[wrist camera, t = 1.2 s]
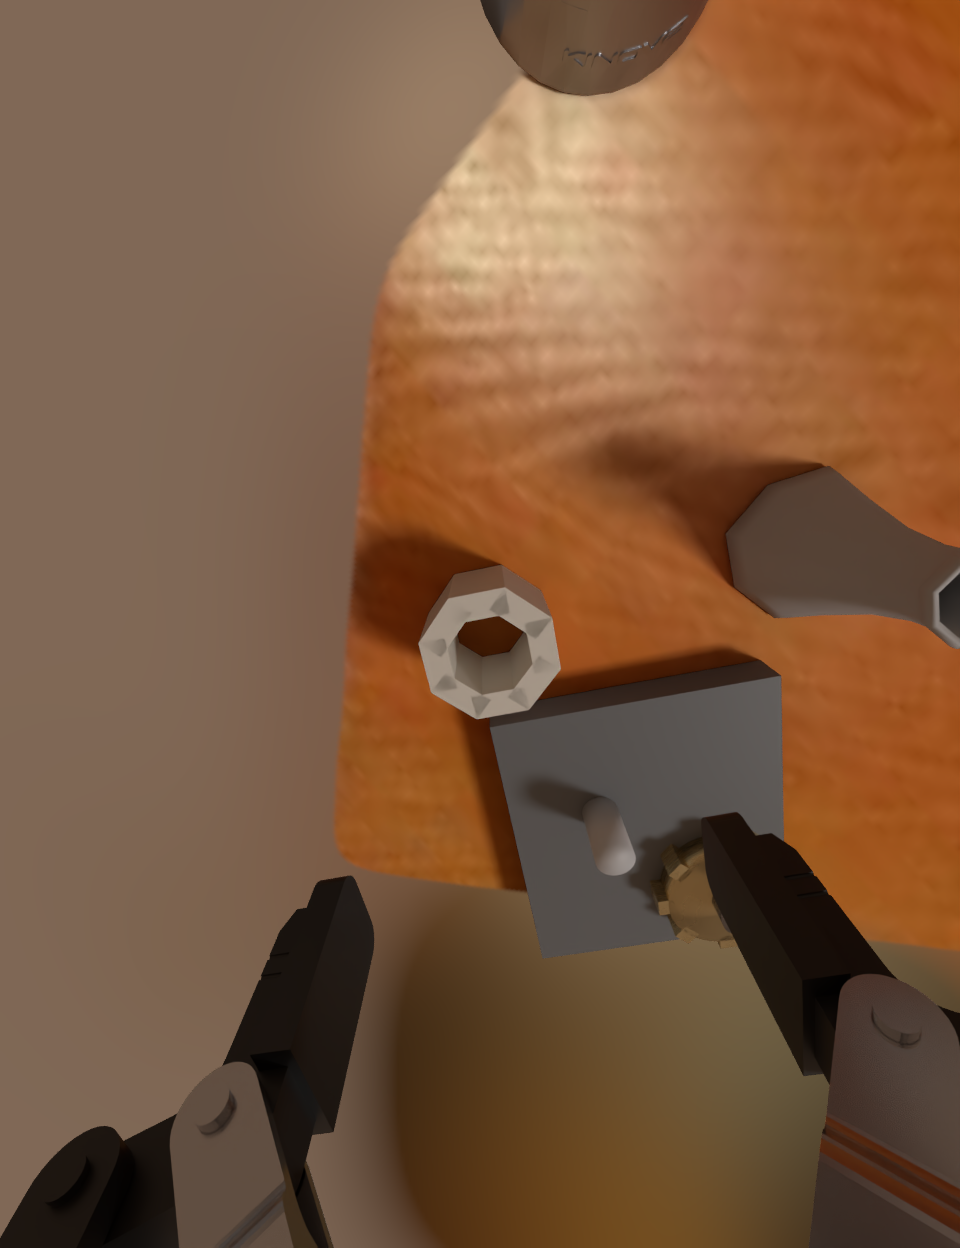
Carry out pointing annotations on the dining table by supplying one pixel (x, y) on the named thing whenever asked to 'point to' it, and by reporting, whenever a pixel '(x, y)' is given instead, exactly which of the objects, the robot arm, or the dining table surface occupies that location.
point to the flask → (841, 557)
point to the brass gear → (689, 896)
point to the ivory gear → (496, 677)
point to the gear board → (633, 793)
